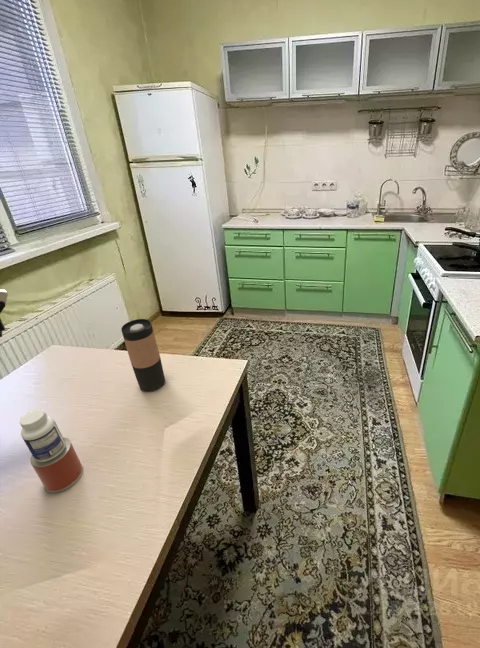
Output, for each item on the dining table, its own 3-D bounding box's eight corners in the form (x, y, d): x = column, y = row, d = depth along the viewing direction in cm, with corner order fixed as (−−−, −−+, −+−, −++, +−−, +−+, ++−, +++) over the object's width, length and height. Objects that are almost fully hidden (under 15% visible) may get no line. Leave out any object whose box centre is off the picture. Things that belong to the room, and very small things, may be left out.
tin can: (39, 497, 65) (23, 471, 62) (51, 467, 72) (37, 441, 68) (78, 487, 67) (65, 461, 64) (86, 458, 73) (75, 433, 70)
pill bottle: (37, 446, 67) (17, 411, 62) (67, 436, 69) (50, 402, 65) (32, 467, 63) (11, 431, 58) (64, 455, 65) (46, 420, 60)
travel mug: (134, 383, 96) (116, 325, 87) (160, 371, 100) (145, 315, 91) (144, 396, 91) (126, 336, 82) (170, 384, 95) (155, 325, 86)
